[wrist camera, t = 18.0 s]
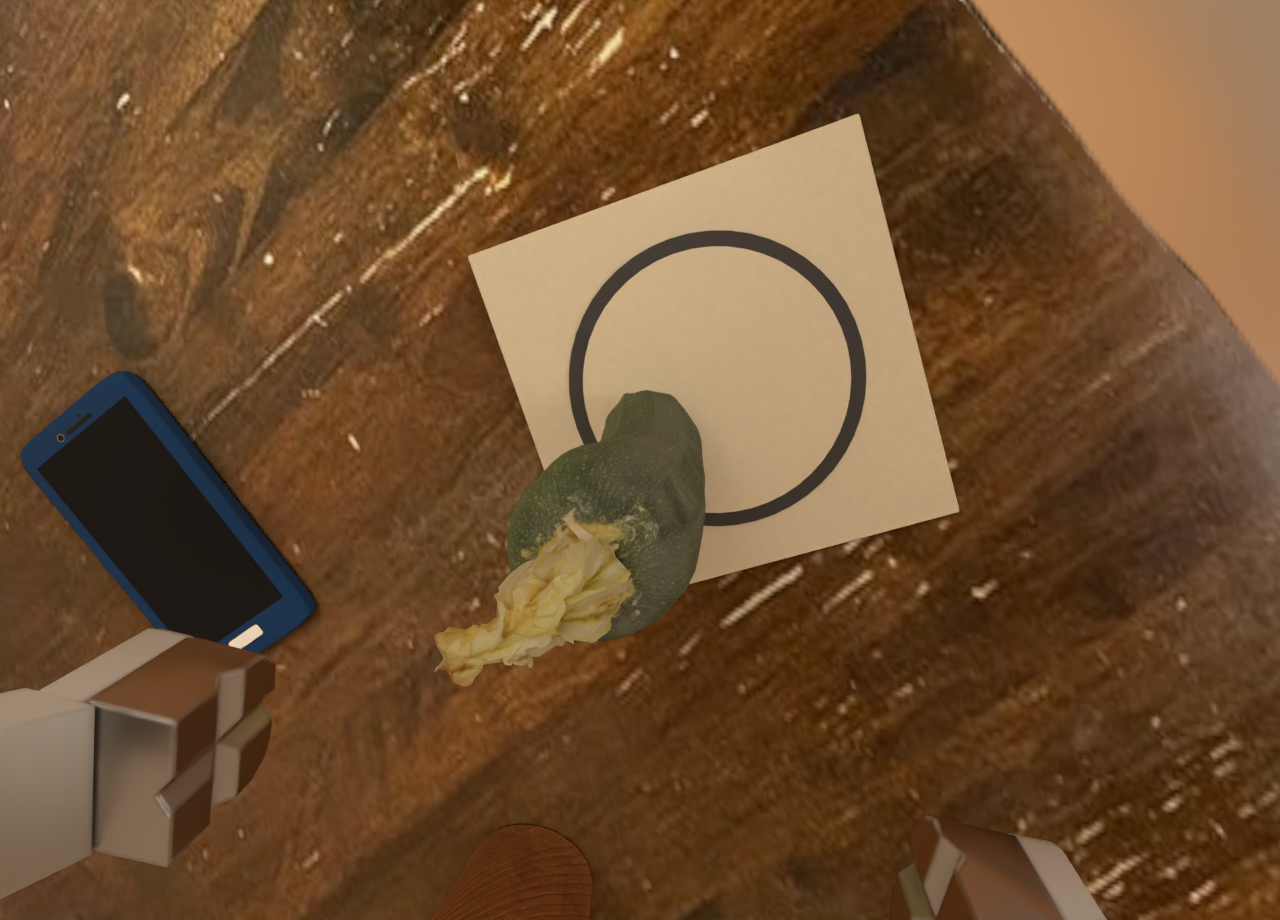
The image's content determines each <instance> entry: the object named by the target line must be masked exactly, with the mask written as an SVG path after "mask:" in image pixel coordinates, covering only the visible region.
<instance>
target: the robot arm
mask: <svg viewBox="0 0 1280 920" xmlns="http://www.w3.org/2000/svg"><path fill="white" fill-rule="evenodd" d="M275 667H276V665H275V663H274V662H273V661H272V659H271V658H270V657H269V656H266V655H262V654H259V653H255V652H251V651H247V650H244V649H240V648H236V647H232V646H228V645H225V644H221V643H217V642H213V641H210V640H206V639H202V638H198V637H197V638H195V637H193V636H191V635H187V634H182V633H178V632H174V631H170V630H165V629H161V628H160V629H146V630H145V631H143V632H141V633H139V634H138V635H136V636H134V637H132V638H131V639H129V640H127V641H125V642H124V643H122V644H120V645H118V646H117V647H115V648H113V649H111V650H109V651H108V652H106V653H104V654H102V655H101V656H99V657H97V658H95V659H94V660H92V661H90V662H88V663H87V664H85V665H83V666H81V667H80V668H78V669H76V670H74V671H72V672H71V673H69V674H67V675H65V676H64V677H62V678H60V679H58V680H57V681H55V682H53V683H51V684H50V685H48V686H46V687H44V688H43V689H41V690H39V691H36V690H32V689H28V688H23V689H18V690H13V691H9V692H4V693H0V899H2V898H4V897H6V896H8V895H10V894H12V893H14V892H16V891H18V890H21V889H23V888H25V887H27V886H29V885H31V884H33V883H35V882H37V881H39V880H41V879H43V878H45V877H47V876H49V875H51V874H53V873H55V872H57V871H60V870H62V869H64V868H66V867H68V866H70V865H72V864H74V863H76V862H78V861H80V860H82V859H84V858H86V857H88V856H90V855H91V854H92V851H97V852H101V853H106V854H110V855H115V856H119V857H123V858H128V859H132V860H137V861H141V862H146V863H150V864H155V865H159V866H163V867H168V866H169V865H170V864H171V863H172V862H173V861H174V860H175V859H176V858H177V857H178V856H179V855H180V854H181V853H182V852H183V850H184V849H185V848H186V847H187V846H188V845H189V844H190V843H191V842H192V841H193V840H194V839H195V838H196V837H197V836H198V835H199V834H200V833H201V832H202V831H203V830H204V829H205V828H206V827H207V826H208V825H209V823H210V810H211V807H212V806H215V805H217V804H220V803H222V802H225V801H227V800H230V799H232V798H235V797H236V796H237V795H238V794H239V793H240V792H241V791H242V790H243V788H244V787H245V786H246V785H247V784H248V783H249V782H250V781H251V780H252V778H253V776H254V774H255V773H256V771H257V769H258V767H259V765H260V764H261V762H262V760H263V758H264V756H265V753H266V749H267V746H268V743H269V739H270V733H271V723H272V719H271V717H270V716H269V714H268V712H267V710H266V708H265V707H264V705H263V703H262V700H263V699H264V698H265V697H266V696H267V695H268V694H269V693H270V692H271V691H273V690H274V689H275ZM908 843H909V846H910V849H911V852H912V855H913V857H914V860H915V862H914V863H913V864H911V865H910V866H908V867H907V868H905V869H904V870H903V871H901V872H900V873H898V875H897V878H896V882H895V885H894V888H893V892H892V895H891V900H890V913H889V920H1107V919H1106V918H1105V916H1104V915H1103V913H1102V911H1101V910H1100V908H1099V907H1098V905H1097V904H1096V902H1095V901H1094V899H1093V897H1092V896H1091V894H1090V893H1089V891H1088V890H1087V888H1086V886H1085V885H1084V883H1083V882H1082V880H1081V879H1080V877H1079V875H1078V874H1077V872H1076V871H1075V869H1074V868H1073V866H1072V864H1071V863H1070V861H1069V860H1068V858H1067V857H1066V855H1065V854H1064V852H1063V850H1061V849H1060V848H1059V847H1058V846H1056V845H1055V844H1054V843H1052V842H1050V841H1045V840H1040V839H1035V838H1030V837H1026V836H1021V835H1016V834H1011V833H1007V834H1006V833H1002V832H997V831H993V830H989V829H984V828H980V827H975V826H971V825H966V824H962V823H957V822H953V821H948V820H944V819H940V818H935V817H931V816H926V815H922V816H921V817H920V818H919V820H918V821H917V822H916V824H915V825H914V828H913V831H912V834H911V837H910V839H909V842H908Z"/></svg>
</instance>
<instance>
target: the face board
mask: <svg viewBox="0 0 1280 920" xmlns="http://www.w3.org/2000/svg"><path fill="white" fill-rule="evenodd" d="M468 259H469V262H470V265H471V268H472V271H473V273H474V276H475V279H476V282H477V284H478V287H479V290H480V293H481V296H482V298H483V301H484V304H485V307H486V310H487V312H488V315H489V318H490V321H491V323H492V326H493V329H494V332H495V335H496V337H497V340H498V343H499V346H500V349H501V351H502V354H503V357H504V360H505V362H506V365H507V368H508V371H509V374H510V376H511V379H512V382H513V385H514V388H515V390H516V393H517V396H518V399H519V401H520V404H521V407H522V410H523V413H524V415H525V418H526V421H527V424H528V427H529V429H530V432H531V435H532V438H533V440H534V443H535V446H536V449H537V452H538V454H539V457H540V460H541V463H542V466H543V468H544V470H545V469H546V468H547V467H548V466H549V465H550V464H551V463H552V462H553V461H554V460H556V459H557V458H558V457H559V456H561V455H562V454H563V453H565V452H567V451H569V450H571V449H573V448H576V447H578V446H581V445H585V444H591V443H597V442H599V441H601V437H602V433H603V430H604V428H605V421H606V418H607V416H608V414H609V413H610V412H611V410H612V409H613V408H614V407H615V406H616V405H617V404H618V403H619V401H620V399H621V397H622V396H623V395H624V394H625V393H636V392H639V391H643V390H650V391H655V392H660V393H666V394H671V395H672V396H673V397H675V398H676V399H677V401H678V402H679V403H680V404H681V405H682V407H683V408H684V409H685V410H686V412H687V413H688V415H689V416H690V417H691V419H692V420H693V422H694V423H695V425H696V426H697V429H698V431H699V434H700V437H701V441H702V457H703V466H704V472H705V490H704V491H705V501H706V508H705V521H704V527H703V534H702V540H701V546H700V552H699V557H698V562H697V566H696V571H695V573H694V575H693V577H692V579H691V581H690V583H689V584H692V583H696V582H699V581H703V580H707V579H711V578H714V577H718V576H722V575H725V574H729V573H733V572H737V571H740V570H744V569H748V568H752V567H755V566H759V565H763V564H767V563H770V562H774V561H778V560H781V559H785V558H789V557H793V556H796V555H800V554H804V553H808V552H811V551H815V550H819V549H823V548H826V547H830V546H834V545H837V544H841V543H845V542H849V541H852V540H856V539H860V538H864V537H867V536H871V535H875V534H879V533H882V532H886V531H890V530H893V529H897V528H901V527H905V526H908V525H912V524H916V523H920V522H923V521H927V520H931V519H934V518H938V517H942V516H946V515H949V514H953V513H957V512H959V507H958V503H957V499H956V495H955V491H954V487H953V483H952V479H951V475H950V471H949V467H948V463H947V459H946V455H945V451H944V447H943V444H942V440H941V436H940V432H939V428H938V424H937V420H936V416H935V412H934V408H933V404H932V400H931V396H930V392H929V388H928V384H927V380H926V376H925V372H924V368H923V364H922V361H921V357H920V353H919V349H918V345H917V341H916V337H915V333H914V329H913V325H912V321H911V317H910V313H909V309H908V305H907V301H906V297H905V293H904V289H903V285H902V282H901V278H900V274H899V270H898V266H897V262H896V258H895V254H894V250H893V246H892V242H891V238H890V234H889V230H888V226H887V222H886V218H885V214H884V210H883V206H882V202H881V199H880V195H879V191H878V187H877V183H876V179H875V175H874V171H873V167H872V163H871V159H870V155H869V151H868V147H867V143H866V139H865V135H864V131H863V127H862V123H861V119H860V116H859V114H856V115H853V116H850V117H847V118H845V119H842V120H839V121H836V122H834V123H831V124H828V125H825V126H823V127H820V128H817V129H814V130H812V131H809V132H806V133H803V134H801V135H798V136H795V137H793V138H790V139H787V140H784V141H782V142H779V143H776V144H773V145H771V146H768V147H765V148H762V149H760V150H757V151H754V152H751V153H749V154H746V155H743V156H740V157H738V158H735V159H732V160H730V161H727V162H724V163H721V164H719V165H716V166H713V167H710V168H708V169H705V170H702V171H699V172H697V173H694V174H691V175H688V176H686V177H683V178H680V179H677V180H675V181H672V182H669V183H667V184H664V185H661V186H658V187H656V188H653V189H650V190H647V191H645V192H642V193H639V194H636V195H634V196H631V197H628V198H625V199H623V200H620V201H617V202H614V203H612V204H609V205H606V206H604V207H601V208H598V209H595V210H593V211H590V212H587V213H584V214H582V215H579V216H576V217H573V218H571V219H568V220H565V221H562V222H560V223H557V224H554V225H551V226H549V227H546V228H543V229H541V230H538V231H535V232H532V233H530V234H527V235H524V236H521V237H519V238H516V239H513V240H510V241H508V242H505V243H502V244H499V245H497V246H494V247H491V248H488V249H486V250H483V251H480V252H478V253H475V254H472V255H469V256H468Z"/></svg>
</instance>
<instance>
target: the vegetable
mask: <svg viewBox="0 0 1280 920" xmlns="http://www.w3.org/2000/svg"><path fill="white" fill-rule="evenodd" d="M704 490H705V472H704V466H703V457H702V441H701V437H700V434H699V431H698V429H697V426H696V425H695V423H694V422H693V420H692V419H691V417H690V416H689V415H688V413H687V412H686V410H685V409H684V408H683V407H682V405H681V404H680V403H679V402H678V401H677V399H676V398H675V397H673V396H672V395H671V394H666V393H660V392H655V391H650V390H643V391H639V392H636V393H625V394H624V395H623V396H622V397H621V399H620V401H619V403H618V404H617V405H616V406H615V407H614V408H613V409H612V410H611V412H610V413H609V414H608V416H607V418H606V421H605V428H604V430H603V433H602V437H601V441H599V442H597V443H591V444H585V445H581V446H578V447H576V448H573V449H571V450H569V451H567V452H565V453H563V454H562V455H561V456H559V457H558V458H557V459H556V460H554V461H553V462H552V463H551V464H550V465H549V466H548V467H547V468H546V469H545V470H544V472H543V473H542V474H541V475H540V476H539V477H538V478H537V479H536V480H535V481H534V482H533V483H532V484H531V485H530V487H529V488H528V489H527V490H526V491H525V493H524V494H523V495H522V496H521V498H520V499H519V500H518V502H517V503H516V505H515V508H514V510H513V512H512V514H511V518H510V523H509V528H508V533H507V548H508V560H509V566H510V572H511V574H510V575H509V576H508V577H507V578H506V579H505V580H504V581H503V582H502V584H501V585H500V586H499V587H498V591H499V592H498V593H497V594H495V595H494V597H495V598H496V600H497V615H496V618H495V619H493V620H492V621H491V622H490V623H489V624H482V625H480V626H478V625H474V624H473V625H472V626H471V627H469V628H468V629H464V628H457V627H448V628H447V629H446V630H445V631H444V632H441V633H438V634H437V635H435V636H434V637H435V639H436V640H435V642H436V644H437V646H438V648H439V650H440V652H441V654H442V656H443V660H442V661H441V663H440V664H439V665H438V666H437V667H436V668H435V672H436V671H438V670H440V669H445V670H447V672H448V674H449V676H450V678H451V679H452V681H453V682H454V683H457V684H459V685H461V686H463V687H465V686H469V685H472V683H473V681H474V679H475V677H476V676H477V675H478V674H479V672H480V671H481V670H482V668H483V665H484V664H490V663H497V662H503V663H504V664H505V665H511V663H512V664H515V665H518V666H523V665H526V664H528V666H529V668H531V667H532V666H533V661H532V657H535V656H541V655H542V654H543V653H545V652H546V651H548V650H549V649H551V648H552V647H554V646H562V645H563V644H564V643H565V642H566V641H569V642H571V643H573V644H574V640H579V641H583V642H590V643H593V642H595V641H606V640H611V639H615V638H620V637H624V636H629V635H632V634H634V633H636V632H638V631H640V630H641V629H644V628H646V627H648V626H650V625H652V624H653V623H655V622H656V621H657V620H658V619H660V618H661V617H662V616H663V615H664V614H665V613H666V612H667V611H668V610H669V609H670V607H671V606H672V605H673V604H674V603H675V602H676V601H677V600H678V598H679V597H680V596H681V595H682V594H683V593H684V592H685V591H686V589H687V587H688V585H689V583H690V581H691V579H692V577H693V575H694V573H695V571H696V566H697V562H698V557H699V552H700V546H701V540H702V534H703V527H704V521H705V508H706V501H705V491H704Z"/></svg>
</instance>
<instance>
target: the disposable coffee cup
mask: <svg viewBox="0 0 1280 920" xmlns="http://www.w3.org/2000/svg"><path fill="white" fill-rule="evenodd" d="M591 894H592V878H591V873H590V869H589V866H588V864H587V862H586V860H585V859H584V857H583V855H582V854H581V852H580V851H579V850H578V849H577V848H576V847H575V846H574V844H572V843H571V842H570V841H568V840H567V839H565V838H564V837H563V836H561V835H560V834H558V833H556V832H554V831H552V830H549V829H546V828H543V827H539V826H532V825H512V826H508V827H503V828H501V829H498V830H496V831H494V832H492V833H491V834H489V835H488V836H486V837H485V838H484V839H483V840H482V841H481V842H480V843H479V844H478V846H477V847H476V849H475V851H474V852H473V854H472V856H471V857H470V859H469V861H468V862H467V864H466V865H465V867H464V869H463V870H462V872H461V873H460V875H459V876H458V878H457V879H456V881H455V883H454V884H453V886H452V887H451V889H450V891H449V892H448V894H447V895H446V897H445V898H444V900H443V902H442V904H441V905H440V907H439V908H438V910H437V911H436V913H435V914H434V916H433V917H432V919H431V920H590V918H589V917H590V907H589V906H591Z"/></svg>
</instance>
